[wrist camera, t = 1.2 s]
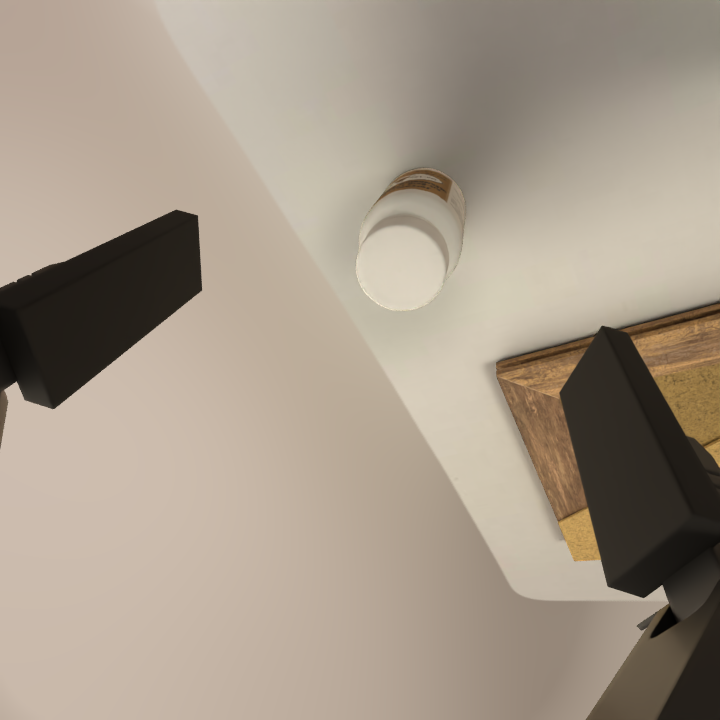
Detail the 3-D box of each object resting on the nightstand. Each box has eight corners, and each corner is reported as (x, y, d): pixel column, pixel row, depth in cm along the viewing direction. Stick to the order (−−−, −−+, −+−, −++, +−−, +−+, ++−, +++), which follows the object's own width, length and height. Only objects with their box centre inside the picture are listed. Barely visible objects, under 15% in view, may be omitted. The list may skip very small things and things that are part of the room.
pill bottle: (446, 148, 20) (430, 187, 13) (478, 233, 21) (477, 300, 15) (366, 191, 22) (320, 241, 15) (402, 264, 23) (374, 336, 17)
